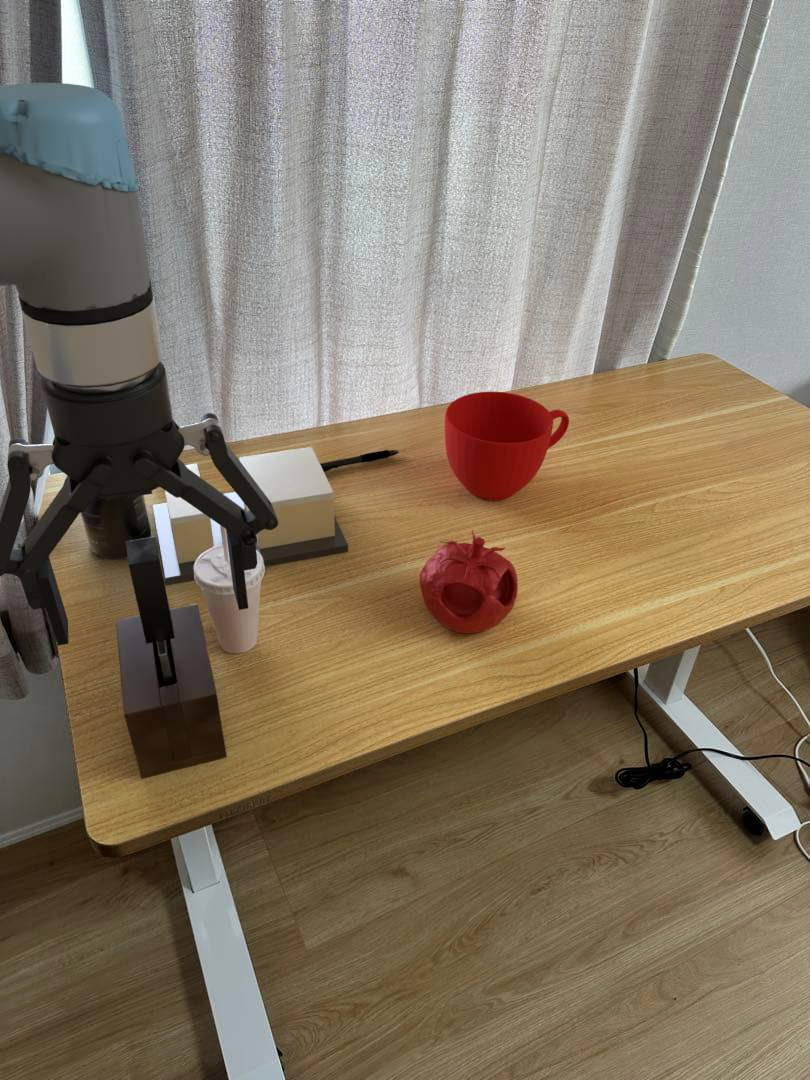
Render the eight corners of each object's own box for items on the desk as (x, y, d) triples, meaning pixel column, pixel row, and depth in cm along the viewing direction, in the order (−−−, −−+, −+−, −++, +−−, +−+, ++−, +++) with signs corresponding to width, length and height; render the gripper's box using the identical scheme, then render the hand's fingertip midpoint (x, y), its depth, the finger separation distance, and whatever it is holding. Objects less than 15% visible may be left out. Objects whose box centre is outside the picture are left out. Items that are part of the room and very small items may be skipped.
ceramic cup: (588, 494, 102) (602, 424, 96) (472, 525, 95) (479, 453, 89) (531, 445, 111) (541, 378, 105) (422, 471, 105) (426, 402, 99)
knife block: (141, 778, 66) (123, 714, 61) (131, 683, 74) (115, 619, 69) (226, 757, 68) (216, 693, 63) (208, 666, 76) (197, 603, 71)
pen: (299, 479, 102) (299, 472, 101) (295, 473, 103) (295, 465, 102) (401, 459, 106) (401, 452, 106) (396, 453, 108) (396, 445, 107)
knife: (167, 740, 68) (129, 578, 57) (159, 689, 73) (124, 529, 62) (193, 734, 69) (161, 572, 58) (184, 683, 73) (153, 524, 62)
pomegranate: (405, 589, 86) (408, 519, 80) (491, 572, 89) (500, 503, 83) (437, 653, 79) (443, 581, 73) (530, 633, 81) (542, 562, 76)
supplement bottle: (125, 517, 95) (106, 427, 87) (165, 538, 92) (148, 448, 84) (76, 545, 90) (51, 453, 83) (116, 569, 87) (93, 476, 80)
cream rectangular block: (178, 563, 87) (170, 518, 83) (168, 511, 94) (160, 468, 90) (215, 557, 88) (209, 512, 84) (203, 506, 95) (196, 463, 91)
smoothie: (264, 612, 82) (254, 500, 74) (277, 656, 78) (267, 541, 69) (201, 624, 81) (182, 511, 72) (209, 669, 76) (190, 554, 67)
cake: (259, 549, 89) (255, 505, 85) (243, 499, 96) (238, 457, 93) (334, 536, 91) (333, 492, 88) (313, 488, 99) (311, 446, 95)
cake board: (166, 585, 85) (164, 578, 85) (153, 511, 96) (152, 504, 95) (348, 551, 91) (348, 544, 90) (317, 485, 101) (317, 478, 101)
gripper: (285, 324, 57) (298, 558, 70) (-112, 364, 50) (-15, 615, 63) (310, 370, 51) (320, 614, 64) (-132, 421, 44) (-21, 684, 57)
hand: (154, 615), depth 64 cm, fingers open, 13 cm apart
